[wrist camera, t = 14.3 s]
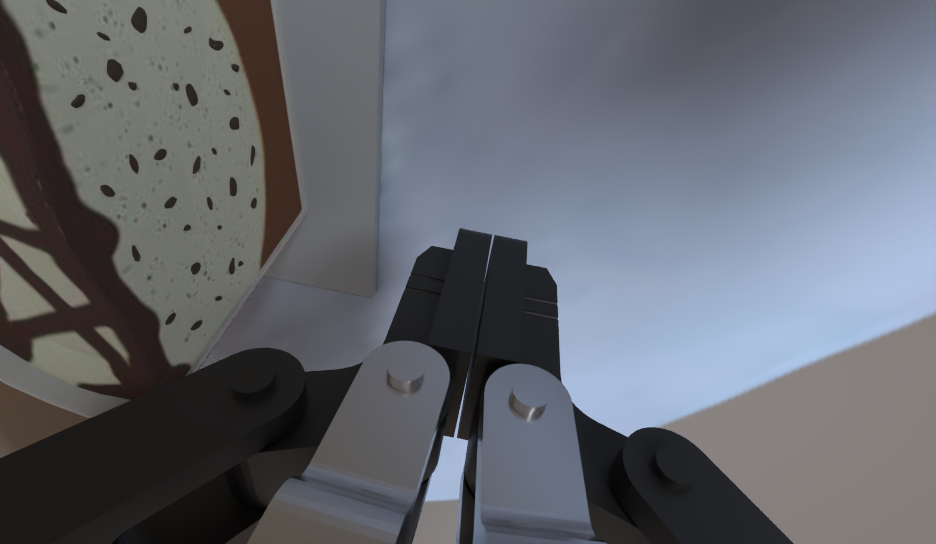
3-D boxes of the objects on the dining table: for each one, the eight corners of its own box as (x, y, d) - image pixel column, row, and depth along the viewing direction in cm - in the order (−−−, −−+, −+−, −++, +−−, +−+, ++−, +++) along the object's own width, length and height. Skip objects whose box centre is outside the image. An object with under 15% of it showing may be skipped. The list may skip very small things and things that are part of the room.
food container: (48, -156, 13) (-762, -306, 5) (259, -134, 13) (-240, -255, 5) (178, 221, 20) (-59, 407, 12) (312, 241, 20) (158, 445, 12)
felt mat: (392, -215, 12) (386, -222, 11) (376, 290, 22) (372, 298, 21) (-351, -350, 12) (-388, -362, 12) (-25, 210, 22) (-37, 215, 22)
